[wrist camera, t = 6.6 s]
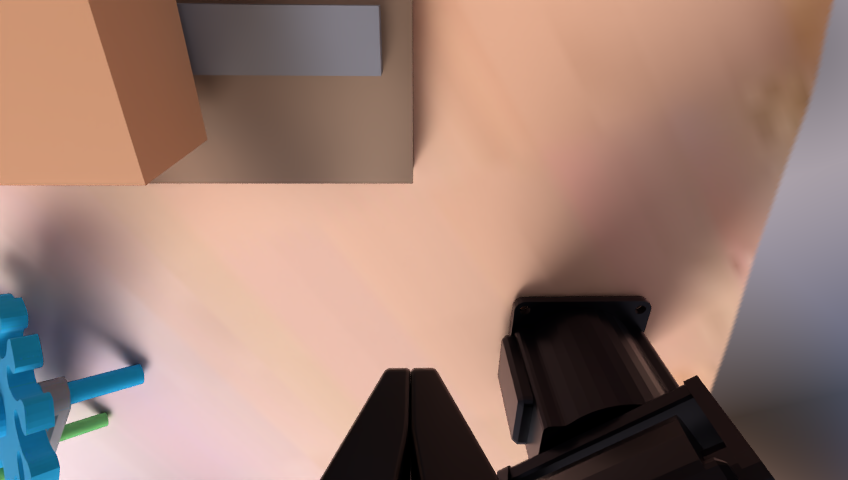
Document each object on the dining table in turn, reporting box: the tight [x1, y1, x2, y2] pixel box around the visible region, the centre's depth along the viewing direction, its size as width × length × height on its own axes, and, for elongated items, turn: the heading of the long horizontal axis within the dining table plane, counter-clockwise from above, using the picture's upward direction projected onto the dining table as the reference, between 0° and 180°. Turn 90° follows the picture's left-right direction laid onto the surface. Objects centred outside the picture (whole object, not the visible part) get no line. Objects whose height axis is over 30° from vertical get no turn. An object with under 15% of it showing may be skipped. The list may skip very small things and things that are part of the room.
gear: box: [0, 294, 144, 480], centre depth 21 cm, size 11×6×10 cm
